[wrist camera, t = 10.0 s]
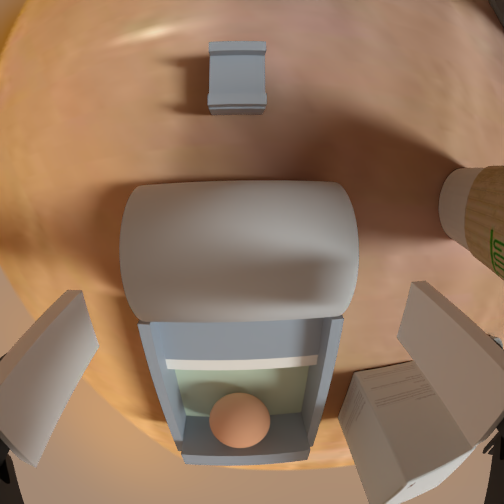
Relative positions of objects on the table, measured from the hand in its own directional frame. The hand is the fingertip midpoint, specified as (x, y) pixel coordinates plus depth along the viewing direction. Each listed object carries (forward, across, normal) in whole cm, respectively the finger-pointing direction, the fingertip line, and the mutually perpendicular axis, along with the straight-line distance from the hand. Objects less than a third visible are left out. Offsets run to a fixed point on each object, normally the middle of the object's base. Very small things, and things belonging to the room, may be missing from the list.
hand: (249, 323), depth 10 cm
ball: (+5, -1, -14) cm, 15 cm away
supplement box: (+9, +13, -16) cm, 22 cm away
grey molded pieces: (+11, 0, -3) cm, 11 cm away
